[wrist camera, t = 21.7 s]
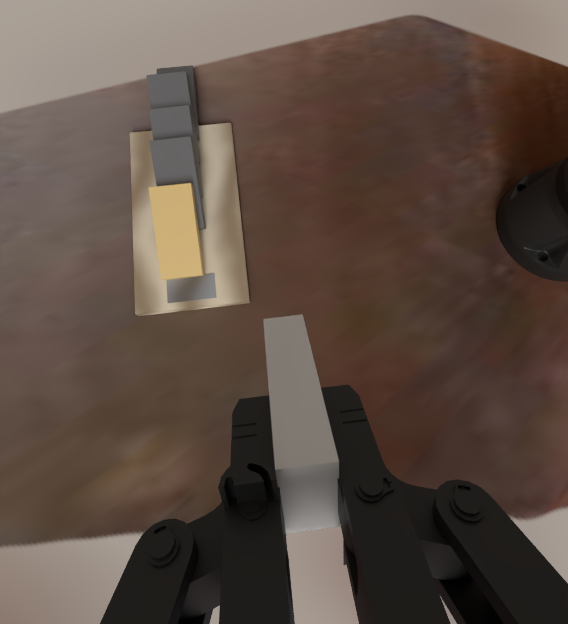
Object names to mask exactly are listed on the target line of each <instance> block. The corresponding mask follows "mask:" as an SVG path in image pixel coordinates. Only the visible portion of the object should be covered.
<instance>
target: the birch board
mask: <svg viewBox="0 0 568 624" xmlns="http://www.w3.org/2000/svg"><path fill="white" fill-rule="evenodd" d="M199 137H200V141H197V142H198V149H199V156H200V163H201V164H199V169H200V176H201V184H202V191H203V198H202V204H203V211H204V217H205V224H206V229H203V230H199V234H200V242H201V250H202V257H203V265H204V273H205V276H197V277H188V278H179V279H170V280H161V276H160V268H159V261H158V253H157V246H156V238H155V231H154V224H153V216H152V209H151V201H150V194H149V187H157V186H156V180H155V174H154V168H153V162H152V156H151V149H150V143H149V141H153V135H152V131H142V132H132V133H130V148H131V183H132V217H133V251H134V286H135V314H136V315H137V316H143V315H152V314H160V313H169V312H178V311H186V310H195V309H203V308H212V307H221V306H229V305H238V304H246V303H250V297H249V288H248V278H247V269H246V259H245V249H244V240H243V230H242V220H241V211H240V201H239V191H238V182H237V172H236V163H235V153H234V143H233V134H232V126H231V123H221V124H212V125H202V126H199Z"/></svg>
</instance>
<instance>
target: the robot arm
mask: <svg viewBox="0 0 568 624" xmlns="http://www.w3.org/2000/svg"><path fill="white" fill-rule="evenodd" d="M497 227H498V232H499V236H500V238H501V241H502V243H503V245H504V247H505V248H506V250H507V251H508V253H509V254H510V255H511V256H512V258H513V259H514V260H515V261H516V262H517V263H518V264H520V265H521V266H522V267H523V268H525V269H526V270H528V271H530V272H531V273H533V274H535V275H538V276H540V277H543V278H546V279H550V280H555V281H568V157H566V158H565V159H562V160H560V161H557V162H555V163H553V164H550V165H548V166H545V167H543V168H541V169H538V170H536V171H534V172H531V173H530V174H528V175H526V176H525V177H523V178H522V179H520V180H519V181H518V182H517V183H516V184H515V185H514V186H513V187H512V188H511V189H510V190H509V191H508V192H507V193H506V194H505V195H504V197H503V199H502V200H501V203H500V205H499V208H498V213H497ZM263 320H264V333H265V346H266V359H267V372H268V384H269V396H261V397H253V398H245V399H239V401H238V403H237V405H236V407H235V408H234V410H233V414H232V440H231V465H230V467H229V468H228V469H227V470H226V471H225V473H224V474H223V476H222V477H221V480H220V484H219V487H218V488H219V492H220V495H221V498H222V502H221V504H220V505H219V506H218V507H217V508H216V509H214V510H213V511H212V512H210V513H208V514H207V515H205V516H203V517H201V518H199V519H196V520H194V521H192V522H190V523H188V524H186V523H185V522H183V521H180V520H177V519H167V520H163V521H161V522H158V523H156V524H154V525H152V526H151V527H150V528H149V529H148V530H147V531H146V532H145V533H143V535H142V536H141V538H140V539H139V541H138V543H137V544H136V546H135V548H134V550H133V553H132V555H131V557H130V559H129V561H128V563H127V566H126V568H125V570H124V572H123V574H122V577H121V579H120V581H119V583H118V585H117V587H116V590H115V592H114V594H113V596H112V599H111V601H110V603H109V605H108V607H107V609H106V612H105V614H104V616H103V618H102V620H101V623H100V624H209V623H210V619H211V615H212V611H213V609H214V608H215V607H217V606H219V605H220V615H219V624H295V623H294V613H293V601H292V591H291V580H290V569H289V559H288V552H287V544H286V534H287V533H294V532H301V531H308V530H316V529H323V528H331V527H338V526H340V524H341V528H342V533H343V538H344V565H347V568H348V572H349V578H350V582H351V587H352V592H353V597H354V601H355V606H356V611H357V616H358V621H359V624H450V621H449V619H448V616H447V613H446V611H445V608H444V605H443V603H442V600H441V598H440V596H441V597H442V599H443V601H444V603H445V604H446V606H447V608H448V609H449V611H450V613H451V614H452V616H453V617H454V619H455V621H456V623H457V624H568V583H567V582H566V581H565V580H564V579H563V578H562V577H561V576H560V574H559V573H558V572H557V571H556V570H555V569H554V568H553V566H552V565H551V564H550V563H549V562H548V561H547V560H546V559H545V557H544V556H543V555H542V554H541V553H540V552H539V551H538V549H537V548H536V547H535V546H534V545H533V544H532V543H531V541H530V540H529V539H528V538H527V537H526V536H525V535H524V534H523V532H522V531H521V530H520V529H519V528H518V527H517V526H516V524H515V523H514V522H513V521H512V520H511V519H510V518H509V516H508V515H507V514H506V513H505V512H504V511H503V510H502V508H501V507H500V506H499V505H498V504H497V503H496V502H495V500H494V499H493V498H492V497H491V496H490V495H489V494H488V493H487V492H485V491H484V490H483V489H482V488H481V487H479V486H477V485H475V484H473V483H471V482H468V481H462V480H452V481H446V482H445V483H444V484H442V485H441V486H439V488H438V490H435V489H429V488H423V487H418V486H413V485H410V484H406V483H404V482H402V481H400V480H399V479H397V478H396V477H395V476H393V475H392V474H391V473H390V472H389V470H388V469H387V468H386V466H385V464H384V462H383V460H382V458H381V455H380V452H379V449H378V447H377V444H376V441H375V438H374V436H373V433H372V430H371V427H370V425H369V422H368V420H367V416H366V414H365V411H364V409H363V406H362V403H361V400H360V397H359V395H358V394H357V393H356V392H355V391H354V390H353V389H352V388H351V387H350V386H349V385H342V386H334V387H326V388H321V387H320V383H319V379H318V375H317V371H316V367H315V363H314V359H313V355H312V351H311V347H310V343H309V339H308V335H307V331H306V327H305V323H304V319H303V315H295V316H286V317H278V318H269V319H263ZM439 594H440V595H439Z"/></svg>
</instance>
